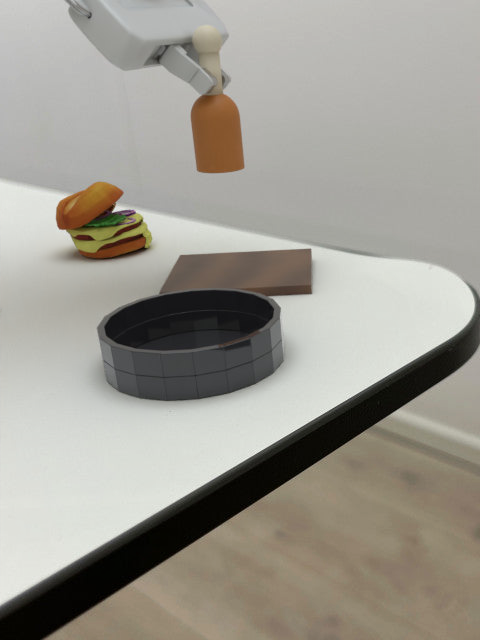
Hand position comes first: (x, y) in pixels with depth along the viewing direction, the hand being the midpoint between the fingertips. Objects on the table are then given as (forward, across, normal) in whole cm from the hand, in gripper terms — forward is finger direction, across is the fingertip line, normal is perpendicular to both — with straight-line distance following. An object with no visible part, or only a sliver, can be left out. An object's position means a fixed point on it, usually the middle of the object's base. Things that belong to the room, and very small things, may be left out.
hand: (218, 87), depth 74 cm
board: (+14, +5, +16) cm, 22 cm away
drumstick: (+5, 0, +6) cm, 8 cm away
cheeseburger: (-2, +14, +33) cm, 36 cm away
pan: (+17, -18, +13) cm, 28 cm away
